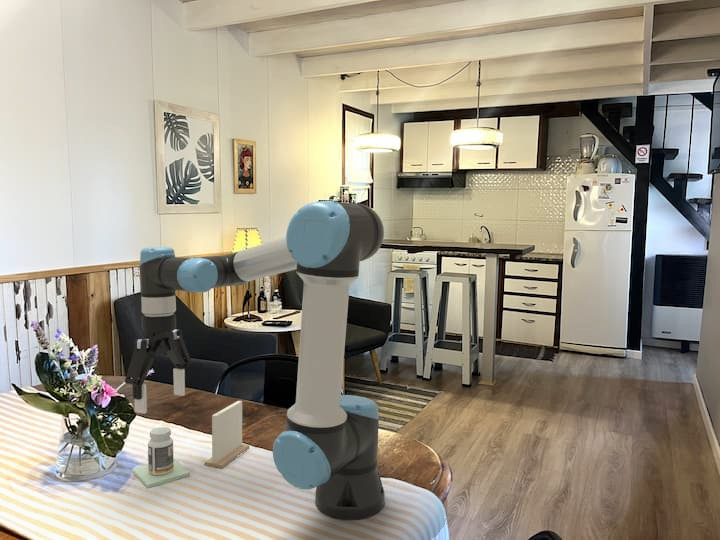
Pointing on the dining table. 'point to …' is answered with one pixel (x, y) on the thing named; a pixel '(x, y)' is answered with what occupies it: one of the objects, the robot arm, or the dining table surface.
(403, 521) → the dining table surface
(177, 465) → the coaster
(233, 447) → the screen
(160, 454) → the pill bottle
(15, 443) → the dining table surface
